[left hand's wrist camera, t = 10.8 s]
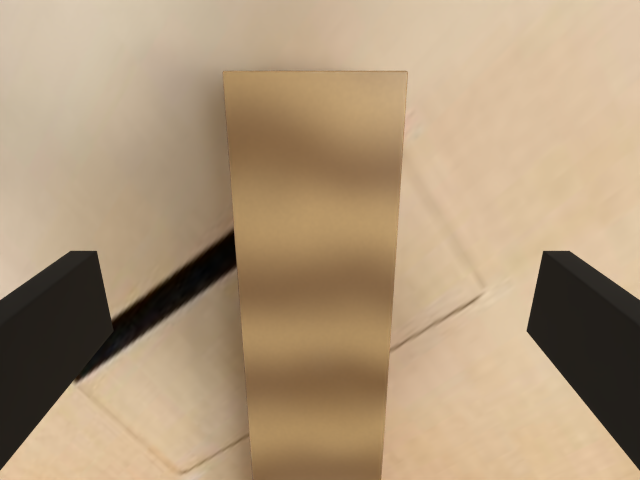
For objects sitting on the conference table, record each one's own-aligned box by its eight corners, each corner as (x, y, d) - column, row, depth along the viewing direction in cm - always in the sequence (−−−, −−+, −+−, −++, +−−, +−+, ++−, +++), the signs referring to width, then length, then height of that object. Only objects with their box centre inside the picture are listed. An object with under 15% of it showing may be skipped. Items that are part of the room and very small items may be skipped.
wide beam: (246, 75, 27) (222, 70, 20) (384, 74, 27) (408, 70, 20) (275, 595, 45) (268, 689, 38) (359, 594, 45) (367, 688, 38)
